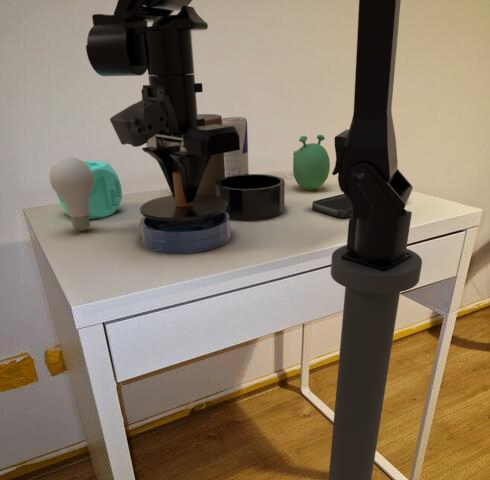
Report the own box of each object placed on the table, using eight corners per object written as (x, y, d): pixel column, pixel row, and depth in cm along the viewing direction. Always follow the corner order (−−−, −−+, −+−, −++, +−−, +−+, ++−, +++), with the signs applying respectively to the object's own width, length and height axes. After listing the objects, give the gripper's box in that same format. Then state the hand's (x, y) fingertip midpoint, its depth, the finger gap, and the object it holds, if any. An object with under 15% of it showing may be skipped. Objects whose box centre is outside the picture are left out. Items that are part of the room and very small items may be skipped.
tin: (297, 209, 79) (298, 180, 77) (249, 225, 73) (249, 193, 70) (251, 198, 87) (250, 171, 84) (203, 211, 80) (201, 182, 78)
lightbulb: (64, 239, 69) (46, 163, 64) (60, 228, 74) (43, 156, 69) (105, 233, 71) (91, 158, 66) (99, 222, 76) (86, 152, 71)
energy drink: (251, 176, 103) (250, 117, 97) (243, 181, 98) (241, 120, 92) (229, 175, 104) (226, 116, 98) (220, 180, 100) (217, 119, 94)
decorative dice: (85, 222, 77) (74, 172, 73) (60, 214, 81) (49, 166, 77) (125, 211, 82) (118, 164, 78) (100, 204, 86) (92, 158, 82)
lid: (246, 211, 66) (244, 170, 63) (175, 232, 59) (170, 187, 56) (192, 196, 74) (189, 159, 71) (124, 213, 67) (117, 173, 64)
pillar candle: (235, 193, 90) (232, 108, 82) (191, 202, 85) (183, 113, 78) (210, 184, 97) (204, 105, 89) (167, 192, 92) (158, 109, 85)
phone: (309, 202, 79) (370, 187, 86) (309, 208, 79) (369, 193, 87) (343, 212, 73) (405, 195, 81) (342, 219, 74) (404, 202, 81)
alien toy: (311, 182, 96) (313, 130, 91) (335, 190, 90) (339, 134, 85) (283, 187, 93) (283, 134, 88) (307, 195, 87) (309, 138, 82)
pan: (248, 236, 68) (247, 216, 67) (177, 261, 61) (175, 239, 59) (194, 219, 76) (192, 201, 75) (126, 239, 69) (122, 219, 67)
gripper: (76, 78, 59) (99, 201, 67) (160, 78, 47) (176, 228, 55) (150, 74, 66) (163, 186, 73) (240, 73, 54) (244, 207, 62)
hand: (183, 200), depth 66 cm, fingers closed on lid, 2 cm apart
